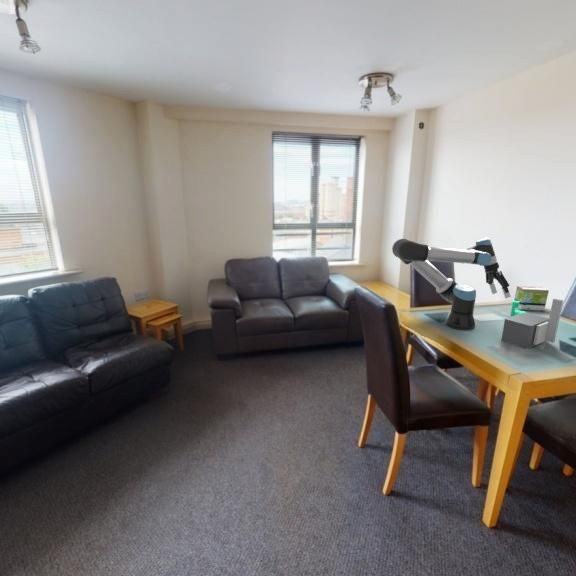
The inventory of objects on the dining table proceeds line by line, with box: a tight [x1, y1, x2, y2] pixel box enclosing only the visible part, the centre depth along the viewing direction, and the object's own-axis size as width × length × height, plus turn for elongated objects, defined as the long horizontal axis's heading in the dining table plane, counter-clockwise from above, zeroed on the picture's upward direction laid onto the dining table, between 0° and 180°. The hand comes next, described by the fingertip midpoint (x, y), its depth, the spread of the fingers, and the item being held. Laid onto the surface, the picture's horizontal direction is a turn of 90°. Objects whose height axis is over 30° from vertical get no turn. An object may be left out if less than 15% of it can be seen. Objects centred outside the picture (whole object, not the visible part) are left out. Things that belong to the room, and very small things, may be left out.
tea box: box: [513, 285, 550, 311], centre depth 218 cm, size 15×10×15 cm, turn 81°
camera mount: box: [509, 299, 527, 317], centre depth 203 cm, size 12×8×10 cm, turn 143°
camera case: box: [500, 311, 549, 350], centre depth 166 cm, size 20×12×12 cm, turn 120°
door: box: [533, 298, 564, 346], centre depth 157 cm, size 10×5×22 cm, turn 120°
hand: (501, 295), depth 195 cm, fingers open, 13 cm apart
